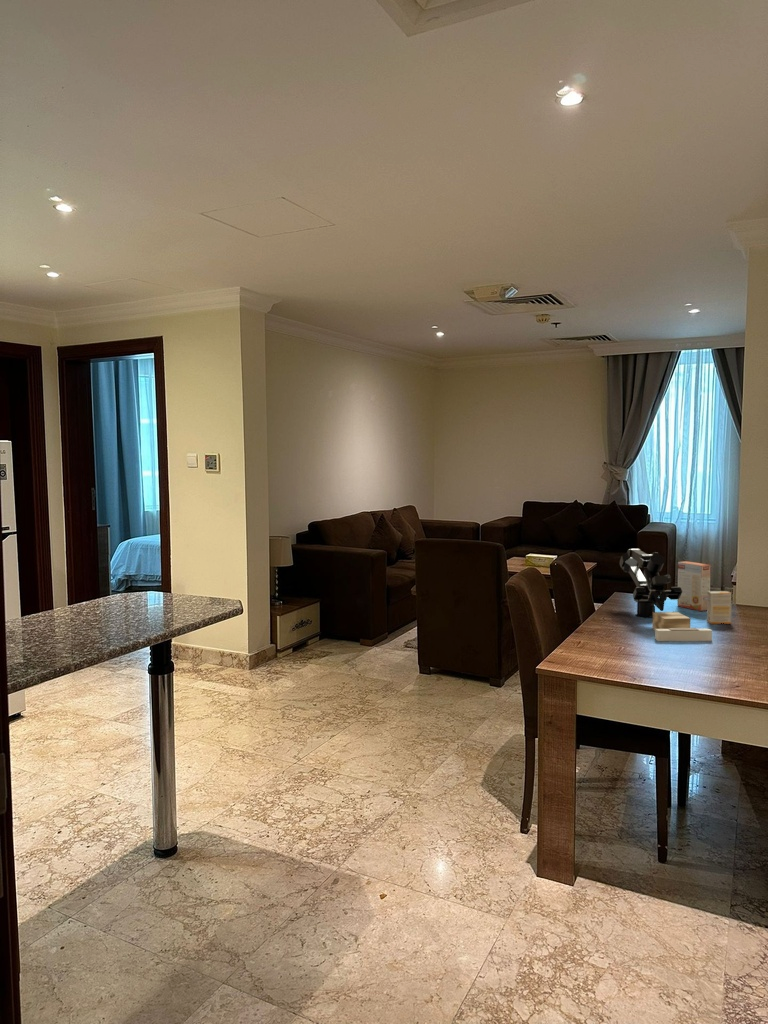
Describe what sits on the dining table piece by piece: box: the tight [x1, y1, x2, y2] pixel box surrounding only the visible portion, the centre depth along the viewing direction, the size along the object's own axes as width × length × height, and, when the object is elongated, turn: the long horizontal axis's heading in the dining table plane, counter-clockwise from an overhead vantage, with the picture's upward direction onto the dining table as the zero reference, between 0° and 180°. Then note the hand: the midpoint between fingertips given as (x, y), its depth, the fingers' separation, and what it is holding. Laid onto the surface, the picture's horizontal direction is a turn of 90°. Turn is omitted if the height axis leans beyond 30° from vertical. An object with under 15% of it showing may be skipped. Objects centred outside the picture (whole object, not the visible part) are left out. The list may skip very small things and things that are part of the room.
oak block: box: [652, 611, 691, 631], centre depth 282 cm, size 12×10×7 cm
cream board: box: [654, 627, 713, 642], centre depth 269 cm, size 3×20×4 cm, turn 88°
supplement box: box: [706, 590, 732, 625], centre depth 296 cm, size 8×5×13 cm, turn 84°
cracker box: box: [676, 560, 712, 612], centre depth 326 cm, size 14×6×21 cm, turn 22°
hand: (662, 610), depth 291 cm, fingers closed
